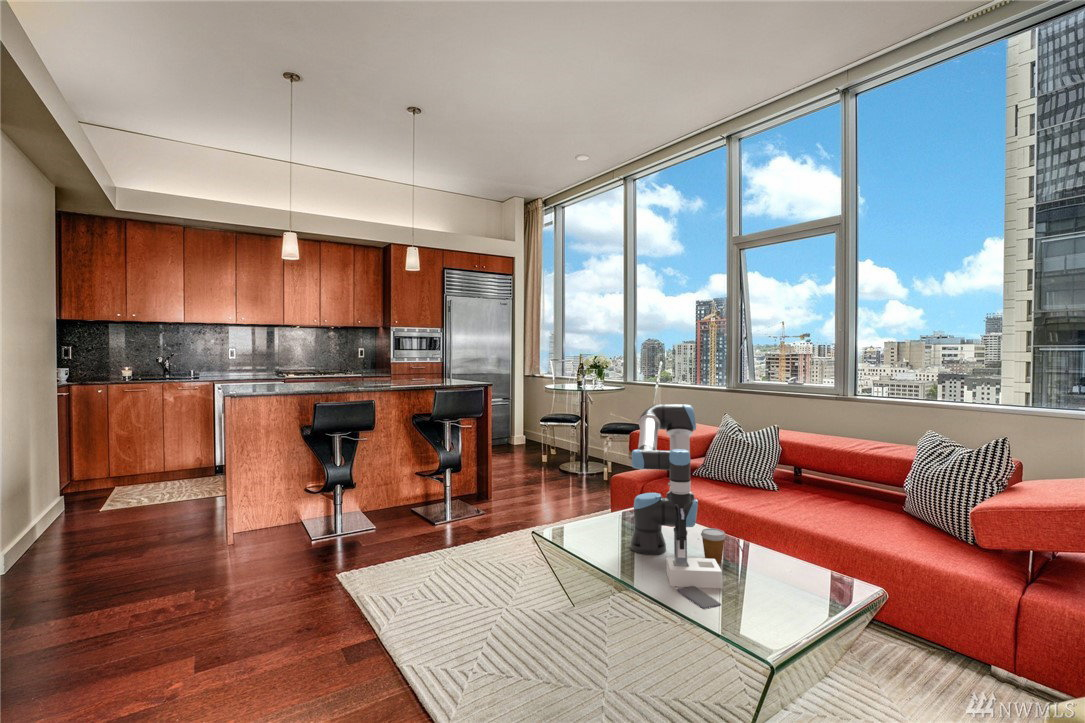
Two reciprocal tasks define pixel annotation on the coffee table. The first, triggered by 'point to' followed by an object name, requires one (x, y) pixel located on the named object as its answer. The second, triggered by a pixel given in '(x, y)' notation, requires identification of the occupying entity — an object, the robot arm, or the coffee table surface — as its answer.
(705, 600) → the smartphone
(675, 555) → the plug
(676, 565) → the socket box
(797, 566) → the coffee table surface
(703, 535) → the disposable coffee cup
